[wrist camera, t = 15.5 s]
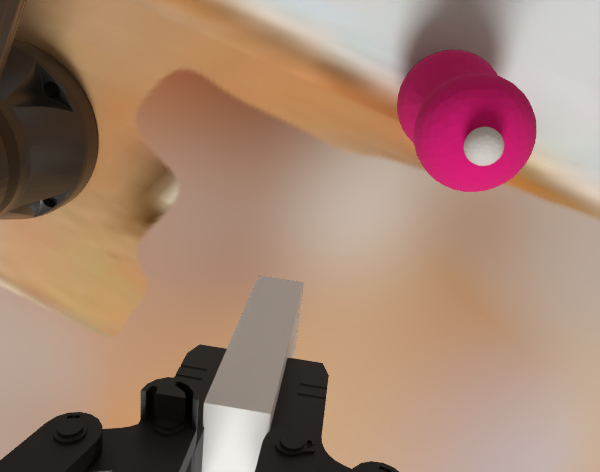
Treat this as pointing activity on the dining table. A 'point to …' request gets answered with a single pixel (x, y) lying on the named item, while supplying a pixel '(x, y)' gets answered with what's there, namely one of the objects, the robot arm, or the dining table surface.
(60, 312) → the dining table surface
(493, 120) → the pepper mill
